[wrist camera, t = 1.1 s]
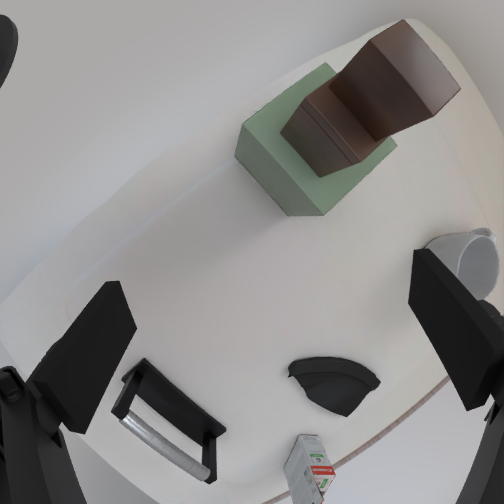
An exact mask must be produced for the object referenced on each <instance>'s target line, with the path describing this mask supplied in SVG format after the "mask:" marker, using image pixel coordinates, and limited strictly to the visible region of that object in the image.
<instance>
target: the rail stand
mask: <svg viewBox="0 0 504 504" xmlns="http://www.w3.org/2000/svg"><path fill="white" fill-rule="evenodd" d="M121 380H122V381H123V382H124V383H125V385H124V387H123V389H122V391H121V393H120V395H119V397H118V399H117V400H116V402H115V404H114V406H113V408H112V410H111V413H113V414H114V415H115V416H116V417H117V418H118V419H119V422H120V423H121V424H122V425H124V426H125V427H126V428H127V429H129V430H130V431H131V432H132V433H133V434H135V435H136V436H137V437H138V438H140V439H141V440H142V441H144V442H145V443H146V444H148V445H149V446H150V447H151V448H153V449H154V450H156V451H157V452H158V453H160V454H161V455H162V456H164V457H165V458H167V459H168V460H169V461H171V462H172V463H174V464H175V465H177V466H178V467H180V468H181V469H183V470H184V471H186V472H187V473H189V474H190V475H192V476H193V477H195V478H196V479H198V480H200V481H204V482H206V483H208V484H211V483H213V482H214V481H216V480H217V461H216V438H217V437H219V436H220V435H222V434H223V433H224V432H226V428H225V427H224V426H223V425H221V424H220V423H219V422H217V421H216V420H215V419H214V418H212V417H211V416H210V415H209V414H207V413H206V412H205V411H204V410H203V409H201V408H200V407H199V406H198V405H196V404H195V403H194V402H193V401H192V400H190V399H189V398H188V397H187V396H186V395H185V394H183V393H182V392H181V391H180V390H179V389H178V388H177V387H175V386H174V385H173V384H172V383H171V382H170V381H169V380H168V379H166V378H165V377H164V376H163V375H162V374H161V373H160V372H159V371H158V370H157V369H156V368H155V367H153V366H152V365H151V364H150V363H149V362H148V361H147V360H146V359H145V358H143V359H142V360H141V361H140V362H139V363H138V364H137V365H136V366H135V367H133V368H132V369H131V370H130V371H129V372H128V373H127V374H126V375H124V376H123V377H122V379H121ZM135 394H137V395H138V396H139V397H140V398H141V399H143V400H144V401H145V402H146V403H147V404H148V405H149V406H151V407H152V408H153V409H154V410H155V411H157V412H158V413H159V414H160V415H161V416H163V417H164V418H165V419H166V420H168V421H169V422H170V423H171V424H173V425H174V426H175V427H176V428H178V429H179V430H180V431H182V432H183V433H184V434H185V435H187V436H188V437H189V438H191V439H192V440H193V441H195V442H196V443H198V444H199V445H200V446H202V464H200V463H199V462H197V461H196V460H195V459H193V458H192V457H190V456H189V455H187V454H186V453H185V452H183V451H182V450H180V449H179V448H178V447H176V446H175V445H174V444H172V443H171V442H170V441H168V440H167V439H166V438H164V437H163V436H162V435H160V434H159V433H158V432H157V431H155V430H154V429H153V428H151V427H150V426H149V425H148V424H147V423H145V422H144V421H143V420H142V419H140V418H139V417H138V416H137V415H136V414H135V413H133V412H132V411H131V410H130V409H129V408H130V405H131V403H132V401H133V399H134V396H135Z"/></svg>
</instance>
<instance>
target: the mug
mask: <svg viewBox="0 0 504 504" xmlns="http://www.w3.org/2000/svg"><path fill="white" fill-rule="evenodd" d="M495 243H496V239H495V235H494V233H493V232H492V231H491V230H490V229H488V228H479V229H475V230H473V231H471V232H469V233H456V234H448V235H444V236H441V237H438V238H435V239H434V240H432V241H431V242H430V243H429V244H428V245H427V246H426V247H425V249H426V248H429V249H430V250H431V251H432V252H433V253H434V254H435V255H436V256H437V257H438V258H439V259H440V260H441V261H442V262H443V263H444V264H445V265H446V266H447V268H448V269H449V270H450V271H451V272H452V273H453V274H454V275H455V276H456V277H457V278H458V279H459V280H460V282H461V283H462V284H463V285H464V286H465V287H466V288H467V289H468V290H469V292H470V293H471V294H472V295H473V296H474V297H475V298H476V300H482V299H484V300H485V299H486V298H487V297H488V296H489V295H490V294H491V293H492V291H493V289H494V288H495V286H496V283H497V280H498V277H499V267H500V262H499V255H498V250H497V248H496V245H495Z"/></svg>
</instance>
